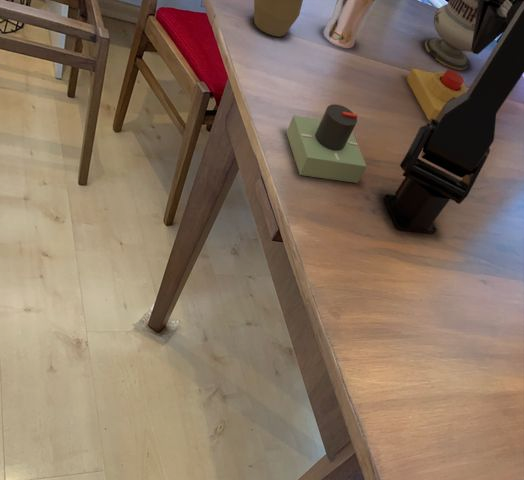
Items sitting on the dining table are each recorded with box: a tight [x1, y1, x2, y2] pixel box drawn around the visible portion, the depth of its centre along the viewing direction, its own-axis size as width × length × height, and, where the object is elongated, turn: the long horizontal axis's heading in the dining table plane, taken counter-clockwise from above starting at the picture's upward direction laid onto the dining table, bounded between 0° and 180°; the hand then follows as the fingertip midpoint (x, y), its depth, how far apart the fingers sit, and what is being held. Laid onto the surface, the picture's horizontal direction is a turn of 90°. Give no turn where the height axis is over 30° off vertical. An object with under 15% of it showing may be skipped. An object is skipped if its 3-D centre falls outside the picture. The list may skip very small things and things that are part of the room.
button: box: [440, 69, 465, 91], centre depth 97 cm, size 4×4×2 cm
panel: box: [286, 114, 368, 184], centre depth 78 cm, size 9×9×3 cm
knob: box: [315, 103, 358, 150], centre depth 75 cm, size 4×4×4 cm
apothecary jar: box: [424, 0, 478, 71], centre depth 107 cm, size 12×12×18 cm
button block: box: [406, 68, 468, 121], centre depth 99 cm, size 12×9×4 cm
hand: (474, 52), depth 89 cm, fingers closed
